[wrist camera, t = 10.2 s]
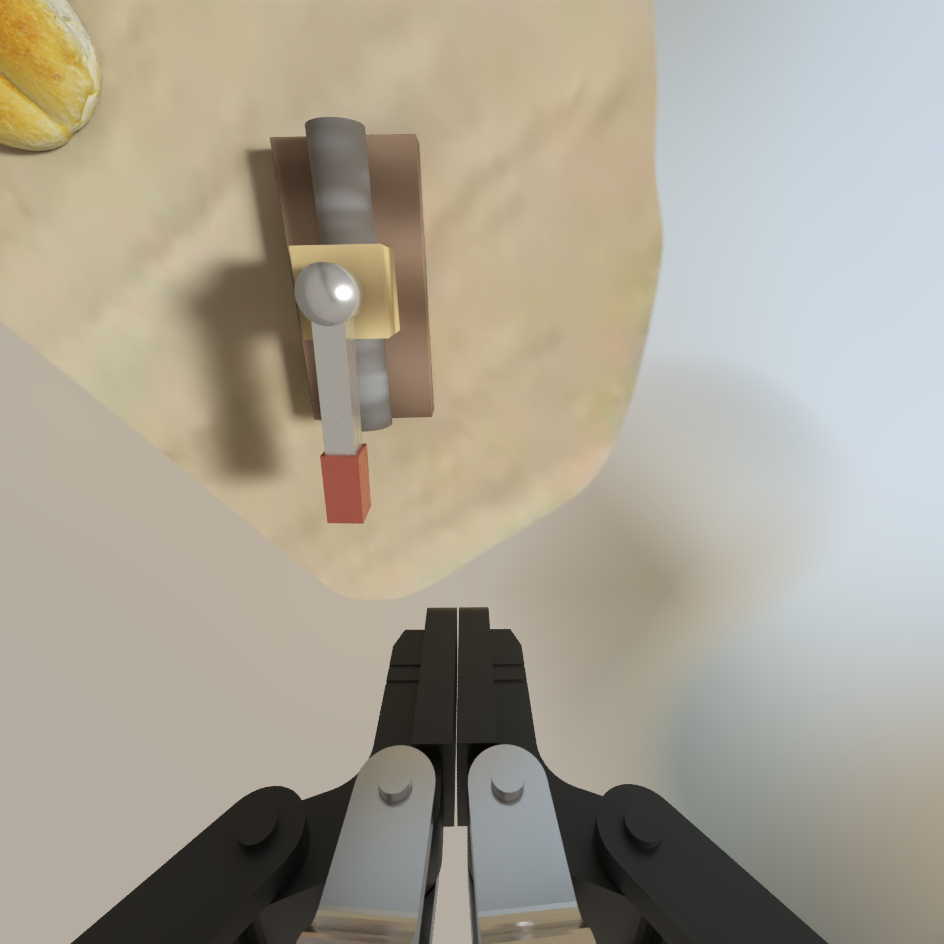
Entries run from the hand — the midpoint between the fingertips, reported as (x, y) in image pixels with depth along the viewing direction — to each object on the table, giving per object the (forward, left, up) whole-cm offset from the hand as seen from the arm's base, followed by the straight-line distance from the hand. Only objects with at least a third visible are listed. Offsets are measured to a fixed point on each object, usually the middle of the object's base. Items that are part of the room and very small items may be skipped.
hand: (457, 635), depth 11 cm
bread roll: (-20, -24, -24) cm, 39 cm away
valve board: (-8, -6, -23) cm, 25 cm away
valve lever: (-2, -6, -16) cm, 18 cm away
